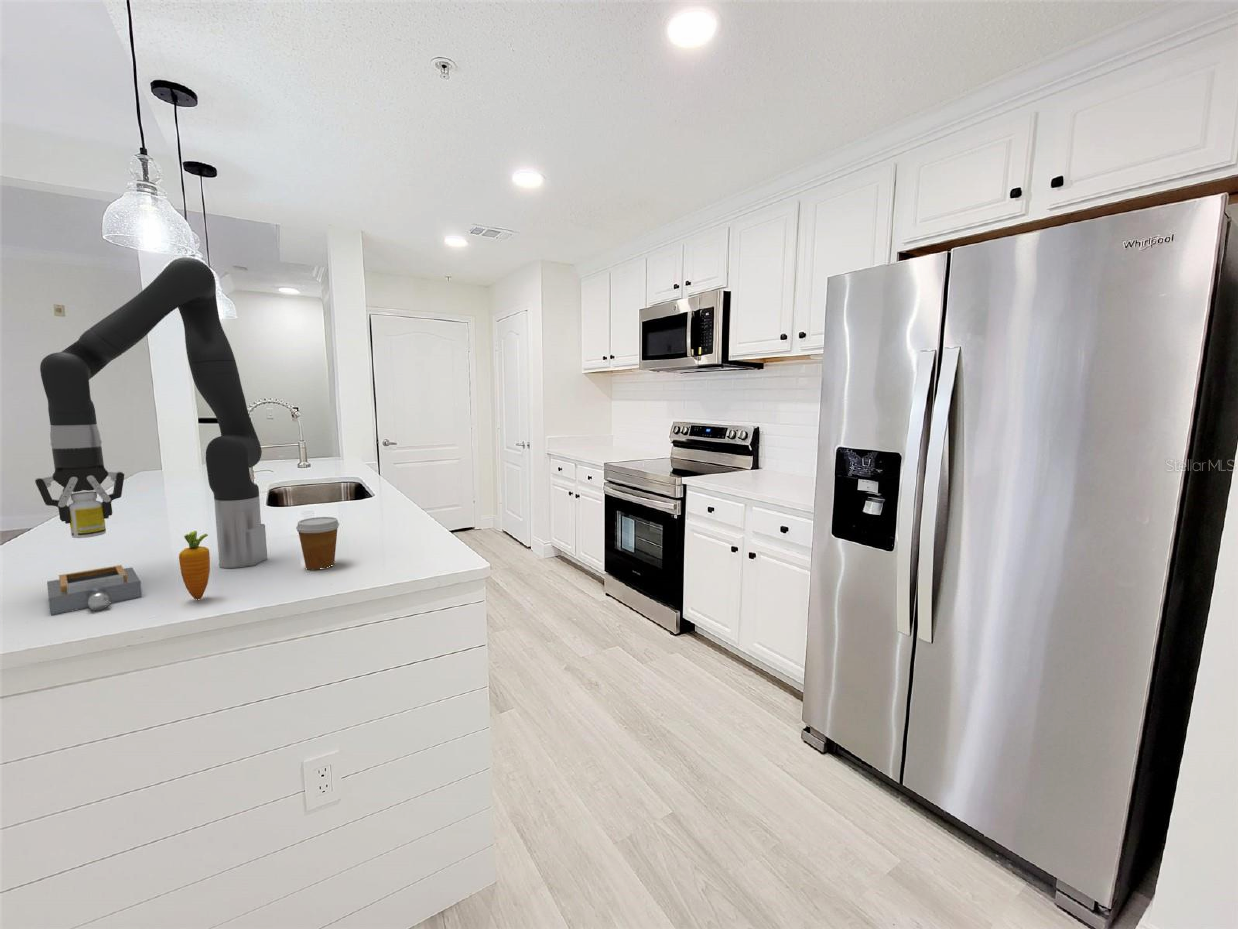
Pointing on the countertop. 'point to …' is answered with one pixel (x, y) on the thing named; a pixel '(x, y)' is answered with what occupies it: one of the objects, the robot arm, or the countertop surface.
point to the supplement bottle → (86, 515)
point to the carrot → (195, 565)
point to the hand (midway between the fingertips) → (87, 520)
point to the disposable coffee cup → (318, 541)
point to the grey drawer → (92, 589)
